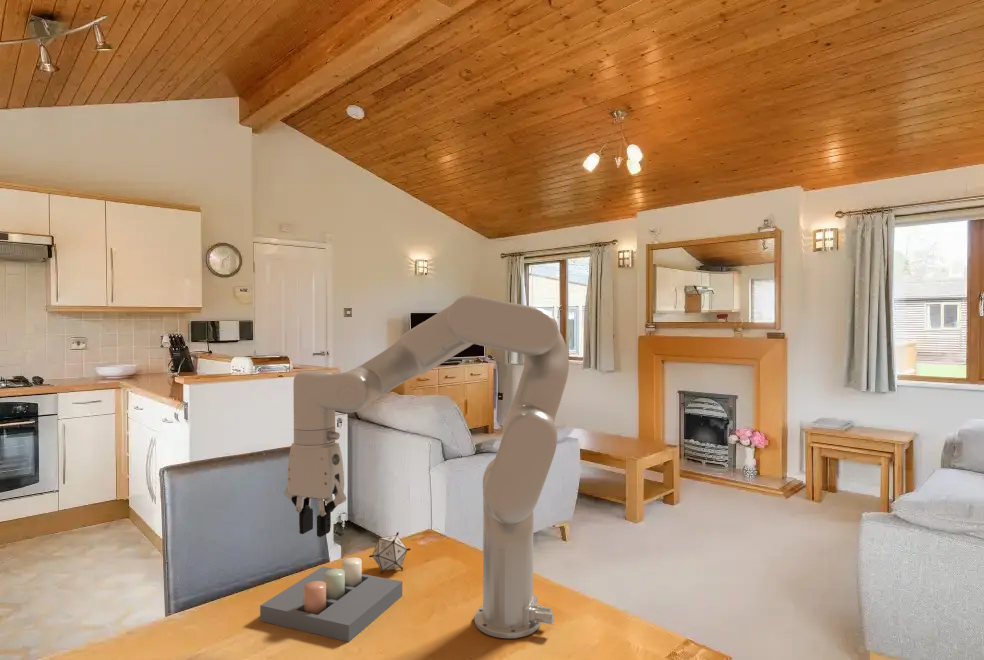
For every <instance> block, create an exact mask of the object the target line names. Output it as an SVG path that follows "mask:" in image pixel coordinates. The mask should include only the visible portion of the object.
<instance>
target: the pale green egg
mask: <svg viewBox="0 0 984 660" xmlns="http://www.w3.org/2000/svg"><path fill="white" fill-rule="evenodd" d="M324 582H325V583H326V598H327V599H332V600H337V601H338V600H339V599H340V598H342V597H343V596H344V595H345V571H344V570H342V568H333V569H331V570H328V571H326V572H325V573H324Z"/></svg>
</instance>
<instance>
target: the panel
mask: <svg viewBox="0 0 984 660" xmlns="http://www.w3.org/2000/svg"><path fill="white" fill-rule="evenodd" d="M331 569H334V567H333V568H332V567H327V566H321V567H319V568H318V569H316V570H314V571H313V572H311V573H309V574H308V575H306V576H305V577H304V578H302V579H300V580H299V581H296V582H295V583H294V584H292V585H291V586H289V587H288V588H286V589H284V590H283V591H281V592H279V593H278V594H276V595H275V596H273V597H271V598H269V599H267V601H265V602H264V603H262V604H260V605H259V610H260V611H259V612H260V614H259V615H260V616H259V617H260V618H259V621H260V622H264V623H268V624H272V625H276V626H279V627H280V626H281V627H285V628H289V629H293V630H298V631H302V632H305V633H310V634H314V635H319V636H322V637H327V638H330V639H334V640H339V641H344V642H347V643H350V642H351V641H352V640H353V639H354V638H355V637H357V636H358V635H359V634H360V633H362V632H363V630H365V629H366V628H367V627H368V626H369V625H370V624H371V623H372V622H374V621H375V620H377V618H379V616H381V615H382V614H384V612H386V611H387V609H389V608H390V607H391V606H392V605H393V604H395V603H396V602H397V601H398V600H399V599H400V598H402V597H403V581H402V580H397V579H392V578H386V577H380V576H377V575H376V576H375V575H371V574H365V573H362V583H361V584H359V585H358V586H357V587H350V586H345V595H344V596H343V597H342V598H340V599H339V600H338V601H337V600H332V599H327V598H326V609H325V610H324V611H323V612H321V613H320V614H318V615H315V614H311V613H307V612H304V586H305V585H306V584H307V583H309V582H313V581H323V582H324V573H325V572H326V571H328V570H331Z"/></svg>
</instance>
